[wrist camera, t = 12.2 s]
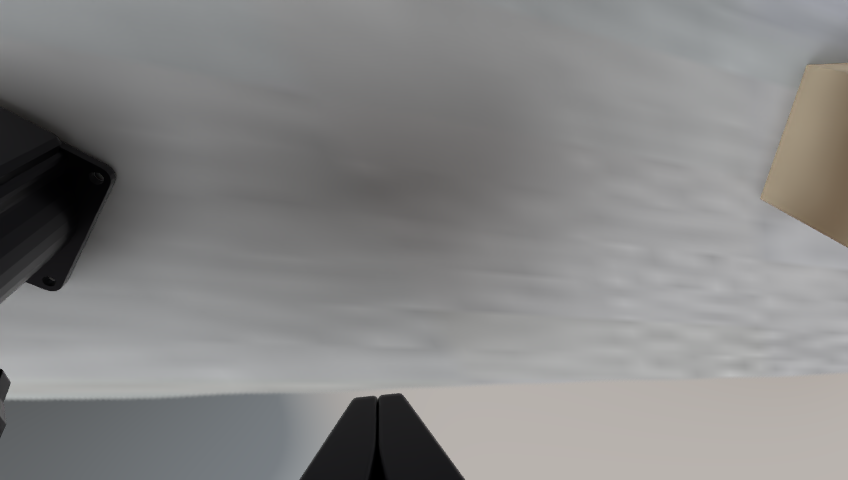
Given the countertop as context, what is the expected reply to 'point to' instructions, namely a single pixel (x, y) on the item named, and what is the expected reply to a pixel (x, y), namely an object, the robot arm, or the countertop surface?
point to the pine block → (815, 154)
